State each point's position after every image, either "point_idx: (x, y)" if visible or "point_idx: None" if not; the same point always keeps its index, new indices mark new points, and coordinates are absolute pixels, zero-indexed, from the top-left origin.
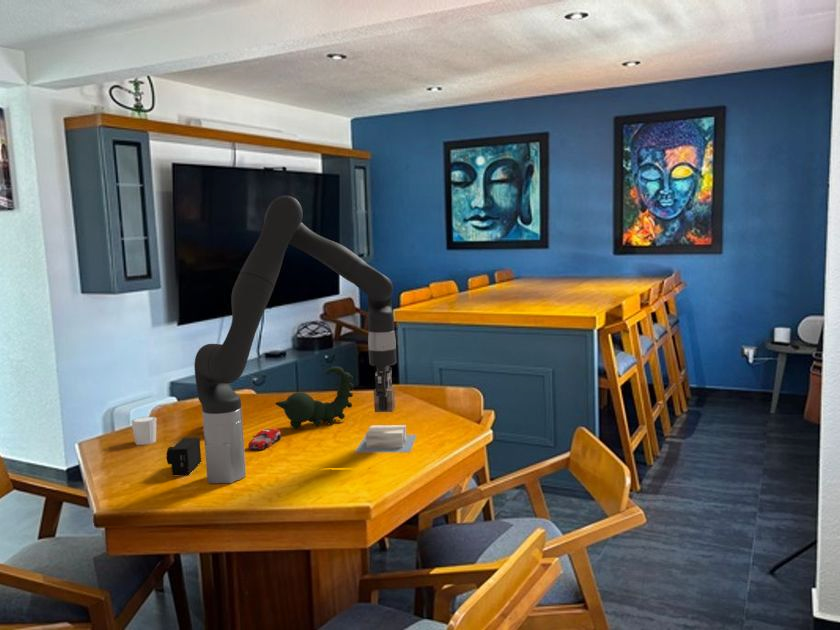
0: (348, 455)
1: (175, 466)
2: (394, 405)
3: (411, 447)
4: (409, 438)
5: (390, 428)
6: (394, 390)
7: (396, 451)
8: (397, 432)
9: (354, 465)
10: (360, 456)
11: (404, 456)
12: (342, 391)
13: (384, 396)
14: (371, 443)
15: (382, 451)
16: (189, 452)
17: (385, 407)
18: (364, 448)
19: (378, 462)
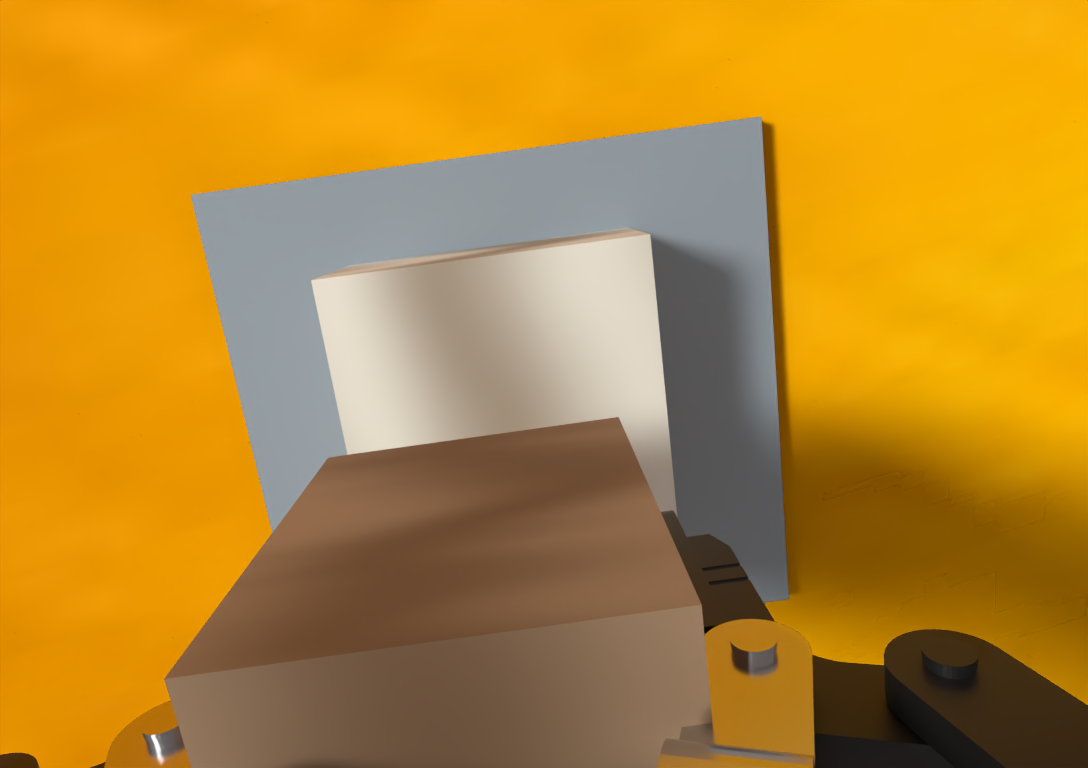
0: (808, 626)
1: None
2: (398, 464)
3: (619, 139)
4: (327, 239)
5: (473, 421)
6: (220, 611)
7: (751, 253)
8: (626, 296)
9: (1050, 504)
10: (829, 530)
11: (816, 156)
12: None
13: (835, 666)
14: None
15: (756, 380)
16: None
17: (703, 545)
18: None
19: (981, 340)
